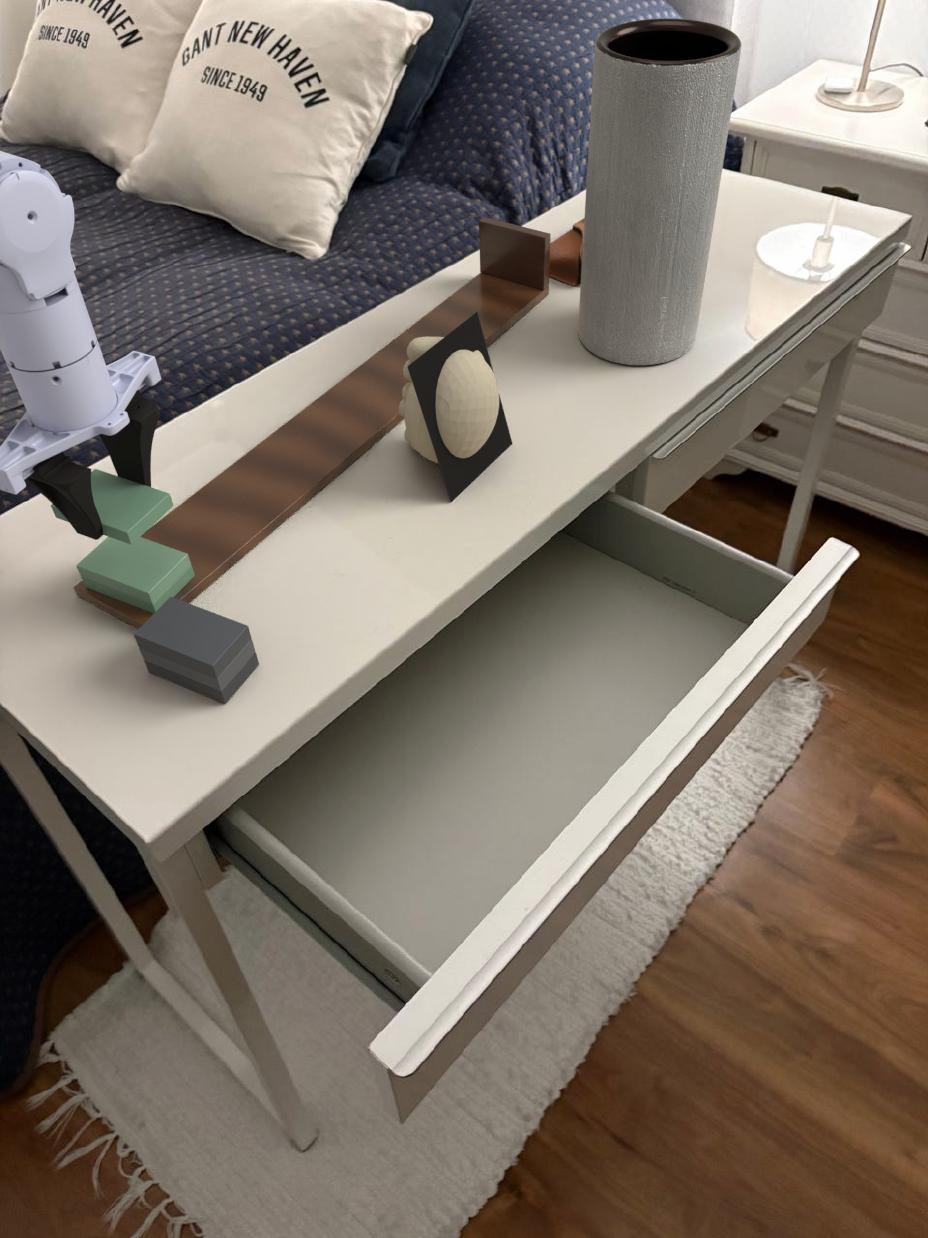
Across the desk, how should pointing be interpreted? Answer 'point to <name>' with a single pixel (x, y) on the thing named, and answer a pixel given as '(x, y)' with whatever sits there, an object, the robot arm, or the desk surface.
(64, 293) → the robot arm
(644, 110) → the planter
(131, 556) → the green flat block
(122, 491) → the sage book
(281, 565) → the desk surface
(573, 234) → the sunglasses case
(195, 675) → the grey books
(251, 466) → the book ledge
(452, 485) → the decorative object
